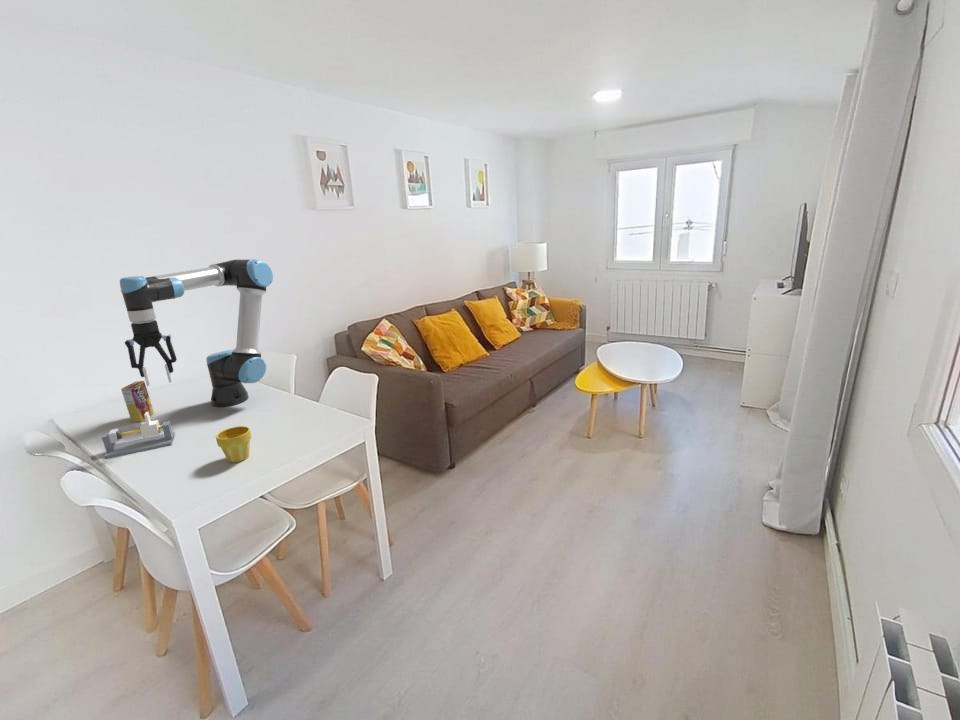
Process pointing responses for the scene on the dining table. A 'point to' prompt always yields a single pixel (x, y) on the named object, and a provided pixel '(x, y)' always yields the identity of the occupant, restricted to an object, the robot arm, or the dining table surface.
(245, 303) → the robot arm
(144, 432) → the cream slider carriage
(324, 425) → the dining table surface
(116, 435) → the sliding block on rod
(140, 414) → the candy box
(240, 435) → the plant pot
